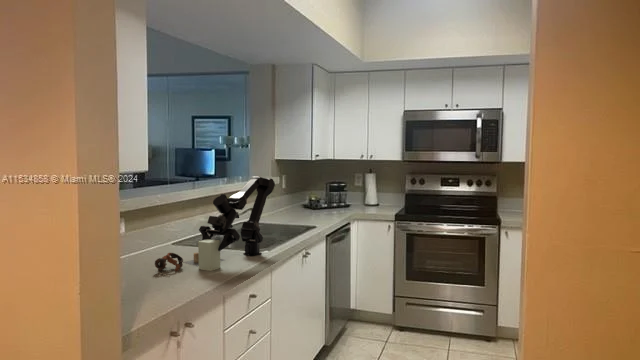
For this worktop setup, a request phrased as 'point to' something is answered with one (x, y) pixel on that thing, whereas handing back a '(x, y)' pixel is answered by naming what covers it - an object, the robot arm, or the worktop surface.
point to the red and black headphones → (161, 262)
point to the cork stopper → (196, 257)
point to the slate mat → (196, 263)
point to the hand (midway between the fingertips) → (210, 249)
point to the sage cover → (209, 254)
